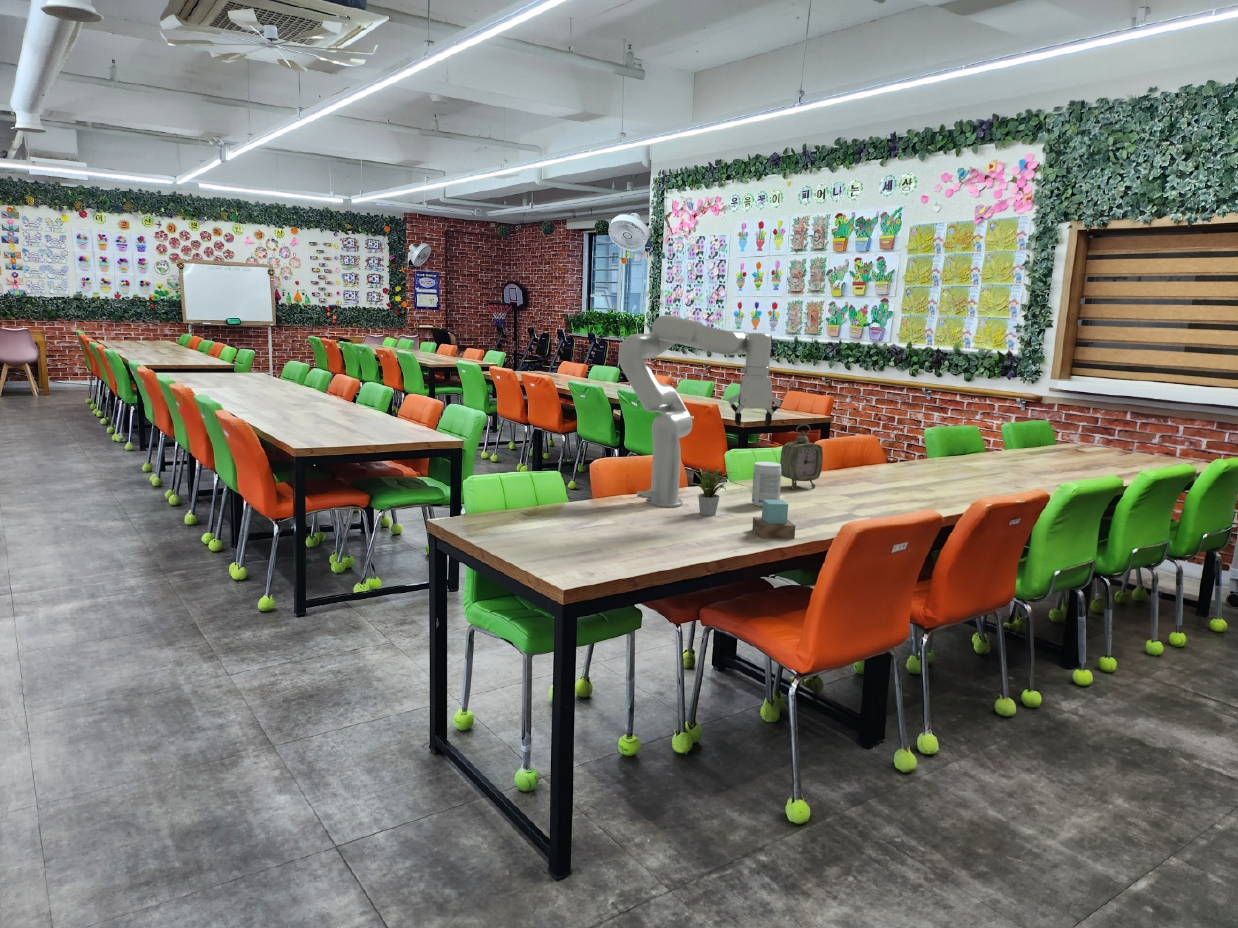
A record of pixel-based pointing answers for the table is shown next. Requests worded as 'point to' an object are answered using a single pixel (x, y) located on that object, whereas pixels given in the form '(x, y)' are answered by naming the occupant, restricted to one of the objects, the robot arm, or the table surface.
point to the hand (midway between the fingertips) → (752, 425)
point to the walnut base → (773, 529)
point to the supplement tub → (766, 482)
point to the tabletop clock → (801, 459)
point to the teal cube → (774, 511)
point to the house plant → (709, 492)
